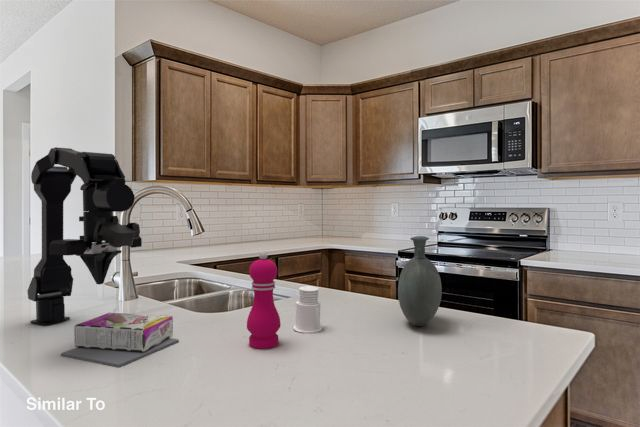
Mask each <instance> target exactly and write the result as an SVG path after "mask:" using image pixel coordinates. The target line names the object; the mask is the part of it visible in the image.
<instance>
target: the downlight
mask: <svg viewBox="0 0 640 427" xmlns="http://www.w3.org/2000/svg"><path fill="white" fill-rule="evenodd" d="M292 329H293V331H296V332H298V333H301V334H303V333H304V334H314V333H319V332H321V331H322V330H323V326H322V325H321V301H319V287H316V286H307V285H305V286H301V287H299V288H298V300H296V302H295V324H294V325H293V328H292Z"/></svg>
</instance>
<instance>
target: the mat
mask: <svg viewBox="0 0 640 427" xmlns="http://www.w3.org/2000/svg"><path fill="white" fill-rule="evenodd" d="M179 342H180V340H179V339H176V338H172V337H170V338H169V339H167V340H165V341H163V342H161V343H159V344H157V345H156V346H154V347H152V348H150V349H148V350H146V351H145V352H140V351H126V350H112V349H99V348H85V347H75V348H72V349H69V350H66V351H62V352H61V353H60V356H61V357H65V358H71V359H75V360H81V361H84V362H85V361H87V362H90V363H96V364H101V365H106V366H110V367H116V368H121V367H123V366H126V365H129V364H131V363H133V362H135V361H138V360H140V359H142V358H144V357H147V356H149V355H151V354H154V353H156V352H159V351H161V350H163V349H165V348H168V347H170V346H173V345H175V344H178V343H179Z"/></svg>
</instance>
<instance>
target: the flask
mask: <svg viewBox="0 0 640 427" xmlns="http://www.w3.org/2000/svg"><path fill="white" fill-rule="evenodd" d="M409 239H410V240H411V241H412V242H413V246H414V249H413V251H414V254H413V257H412V258H410V259H409V260H408V261H407V262H406V263H405V265H403V268H402V269H401V272H400V274H399V280H398V285H397V287H398V288H397V296H398V298H397V299H398V303H399V307H400V309H401V312H402V313H403V315H404V317H405V318H406V320H407V321H408V322H409V323H410V324H411V325H413V326H415V327H423V326H425V325H427V323H429V322H430V321H431V320H432V319H433V318H434V317H435V316H436V313H437V311H438V310H439V307H440V304H441V301H442V293H443V292H442V290H443V288H442V280H441V276H440V274H439V271H438V269H437V267H436V265H435V264H434V263H433V262H432V261H431V260H430V259H429V258H428V257H426V254H425V253H426V243H427V241H428V240H430V238H429V237H427V236H425V235H424V236H421V235H418V236H417V235H416V236H413V237H410V238H409Z"/></svg>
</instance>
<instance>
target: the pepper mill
mask: <svg viewBox="0 0 640 427" xmlns="http://www.w3.org/2000/svg"><path fill="white" fill-rule="evenodd" d="M258 258H259V259H256V260H254V261H252V263H251V264H250V265H249V270H248V271H249V272H248V275H249V277H250V278H251V279H252V282H251V289H252V290H253V302H252V306H251V309H250V311H249V314H248V317H247V321H246V329H247V330H248V332H249V333H250V336H248V345H249V346H250V347H251V348H253V349H259V350H265V349H267V350H268V349H271V348H275V347H277V346H278V345H279V335H278V334H277V332H278V331H279V330H280V328H281V318H280V315H279V313H278V309H277V308H276V305H275V301H274V290H275V288H276V286H275V285H276V281H275V280H274V279H275V278H276V277H277V275H278V267H277V264H276V263H275V262H274V261H273V260H271V259H268V254H267V252H266V251H262V252H260V253H259V254H258Z"/></svg>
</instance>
